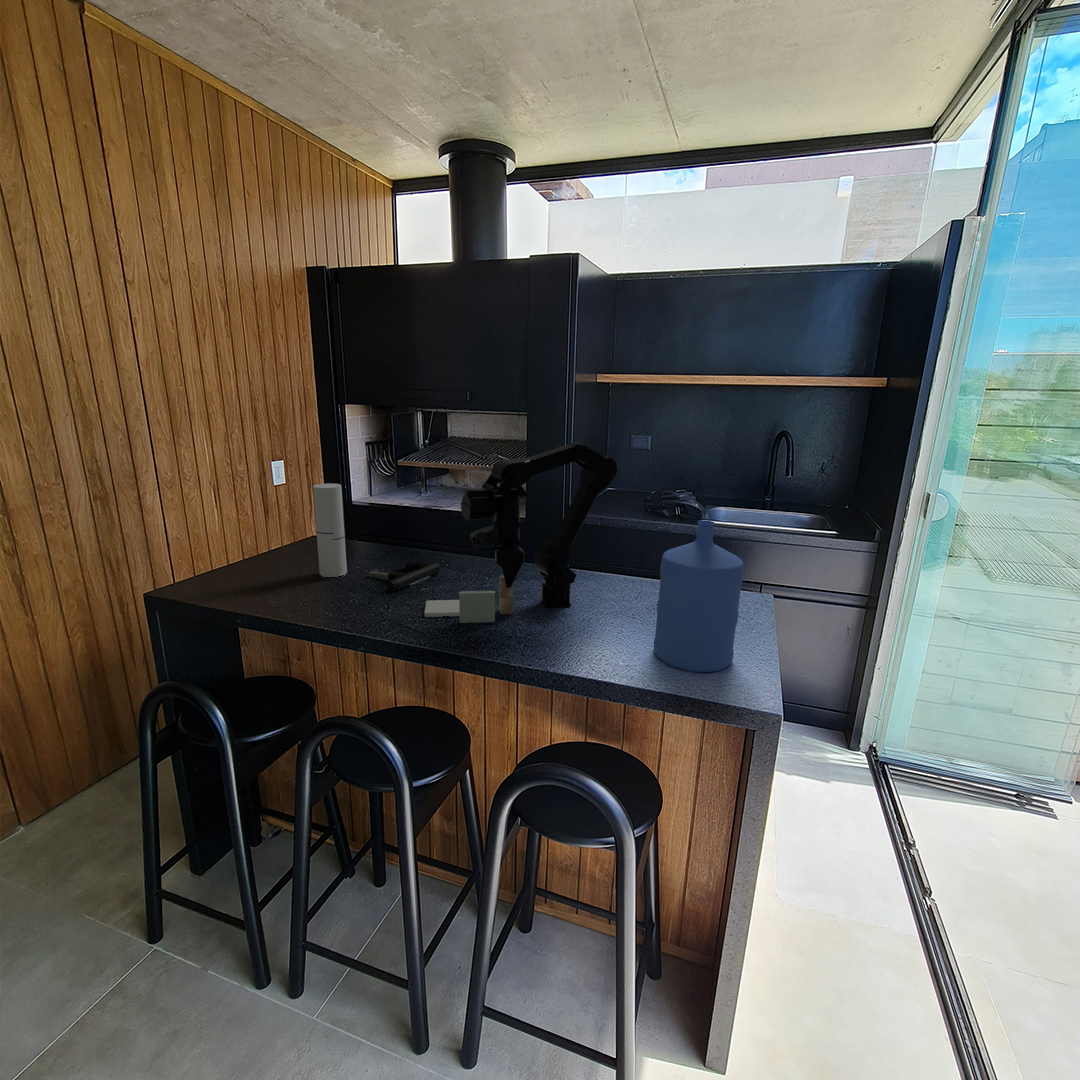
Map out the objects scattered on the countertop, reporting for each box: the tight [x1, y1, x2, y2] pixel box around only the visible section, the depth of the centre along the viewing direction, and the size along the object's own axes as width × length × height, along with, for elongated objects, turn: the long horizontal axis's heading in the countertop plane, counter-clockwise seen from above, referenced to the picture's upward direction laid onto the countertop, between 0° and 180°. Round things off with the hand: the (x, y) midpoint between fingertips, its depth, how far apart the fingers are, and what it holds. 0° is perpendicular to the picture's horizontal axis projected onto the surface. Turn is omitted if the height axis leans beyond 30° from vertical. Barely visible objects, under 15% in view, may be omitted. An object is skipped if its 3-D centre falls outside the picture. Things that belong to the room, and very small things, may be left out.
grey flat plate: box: [424, 599, 460, 618], centre depth 135 cm, size 10×8×1 cm
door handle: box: [367, 560, 442, 592], centre depth 157 cm, size 3×20×16 cm
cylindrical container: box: [312, 483, 348, 578], centre depth 155 cm, size 7×7×25 cm
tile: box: [458, 590, 496, 624], centre depth 128 cm, size 8×2×7 cm, turn 98°
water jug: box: [653, 519, 745, 673], centre depth 111 cm, size 16×16×28 cm
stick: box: [498, 573, 514, 615], centre depth 134 cm, size 3×3×9 cm
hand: (506, 580), depth 133 cm, fingers open, 9 cm apart
